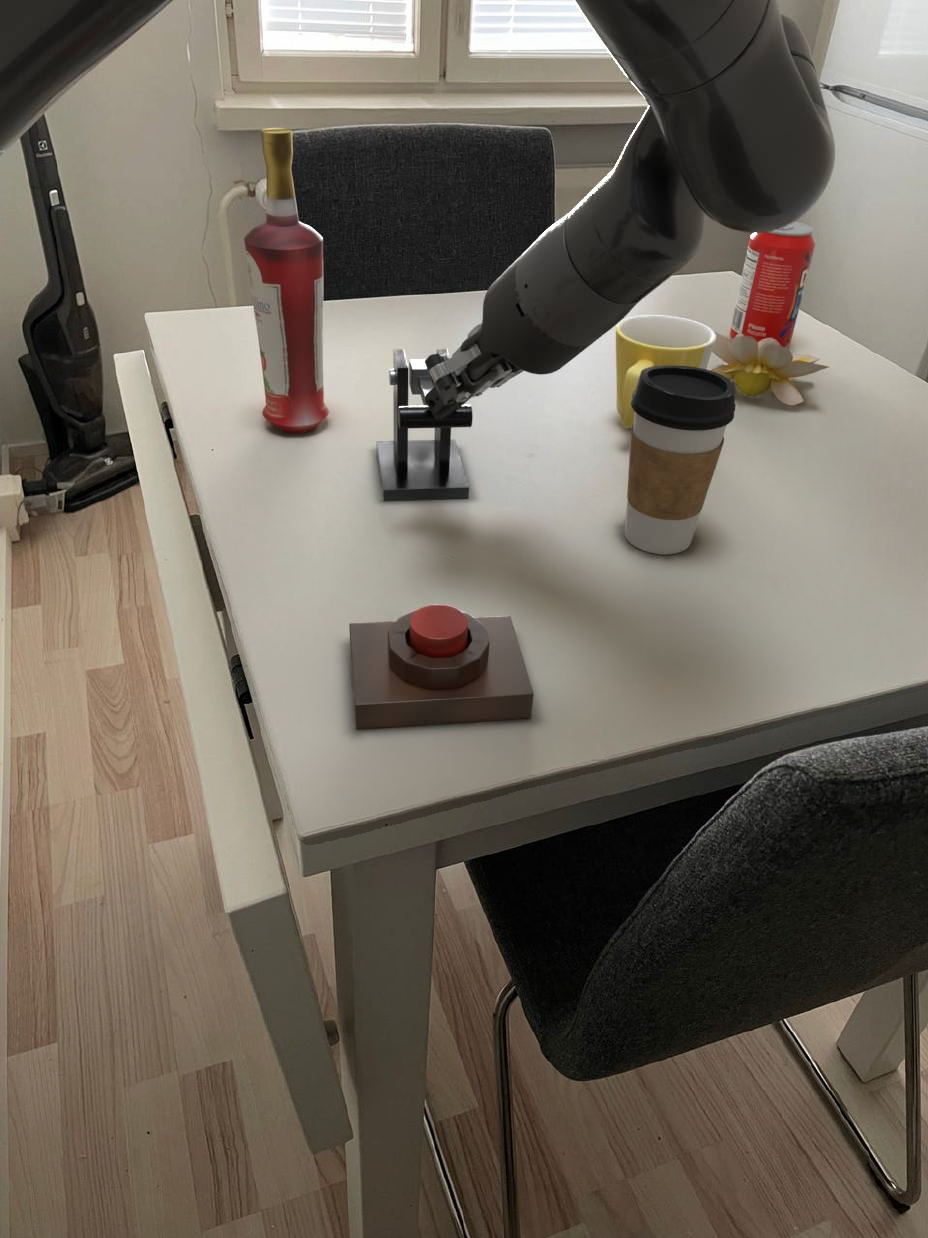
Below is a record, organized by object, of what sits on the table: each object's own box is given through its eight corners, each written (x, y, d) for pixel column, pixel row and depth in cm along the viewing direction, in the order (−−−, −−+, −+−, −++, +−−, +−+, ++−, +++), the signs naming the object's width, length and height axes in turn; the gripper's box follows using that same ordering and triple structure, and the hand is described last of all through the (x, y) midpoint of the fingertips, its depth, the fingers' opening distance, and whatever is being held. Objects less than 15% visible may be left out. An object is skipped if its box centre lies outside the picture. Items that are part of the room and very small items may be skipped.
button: (412, 661, 64) (412, 640, 63) (407, 625, 68) (407, 605, 67) (470, 657, 65) (472, 637, 64) (463, 622, 68) (464, 602, 67)
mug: (636, 396, 111) (650, 306, 104) (714, 424, 105) (734, 330, 99) (566, 432, 102) (577, 336, 96) (648, 464, 97) (665, 365, 91)
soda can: (715, 341, 126) (740, 222, 117) (751, 330, 130) (777, 214, 121) (765, 360, 121) (794, 237, 112) (800, 347, 126) (831, 228, 117)
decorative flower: (846, 376, 113) (857, 298, 106) (811, 428, 107) (820, 349, 100) (725, 354, 120) (729, 279, 113) (686, 401, 115) (687, 326, 108)
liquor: (252, 415, 102) (223, 124, 86) (316, 404, 105) (301, 121, 88) (274, 443, 97) (249, 140, 80) (341, 431, 100) (330, 136, 83)
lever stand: (468, 498, 90) (474, 378, 83) (383, 501, 89) (382, 380, 82) (454, 449, 98) (459, 337, 91) (376, 451, 97) (375, 337, 90)
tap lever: (472, 433, 79) (473, 406, 78) (399, 435, 78) (399, 407, 77) (452, 383, 89) (453, 358, 88) (388, 384, 89) (388, 359, 87)
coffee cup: (592, 523, 87) (615, 364, 78) (669, 506, 90) (699, 352, 81) (644, 570, 81) (674, 405, 72) (724, 551, 84) (763, 390, 75)
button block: (355, 729, 64) (354, 684, 62) (350, 646, 71) (348, 603, 69) (531, 718, 66) (536, 673, 63) (508, 638, 73) (512, 595, 70)
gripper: (601, 227, 67) (472, 348, 82) (467, 259, 60) (350, 385, 74) (650, 322, 68) (513, 426, 82) (523, 366, 60) (395, 472, 74)
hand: (436, 406), depth 78 cm, fingers closed
